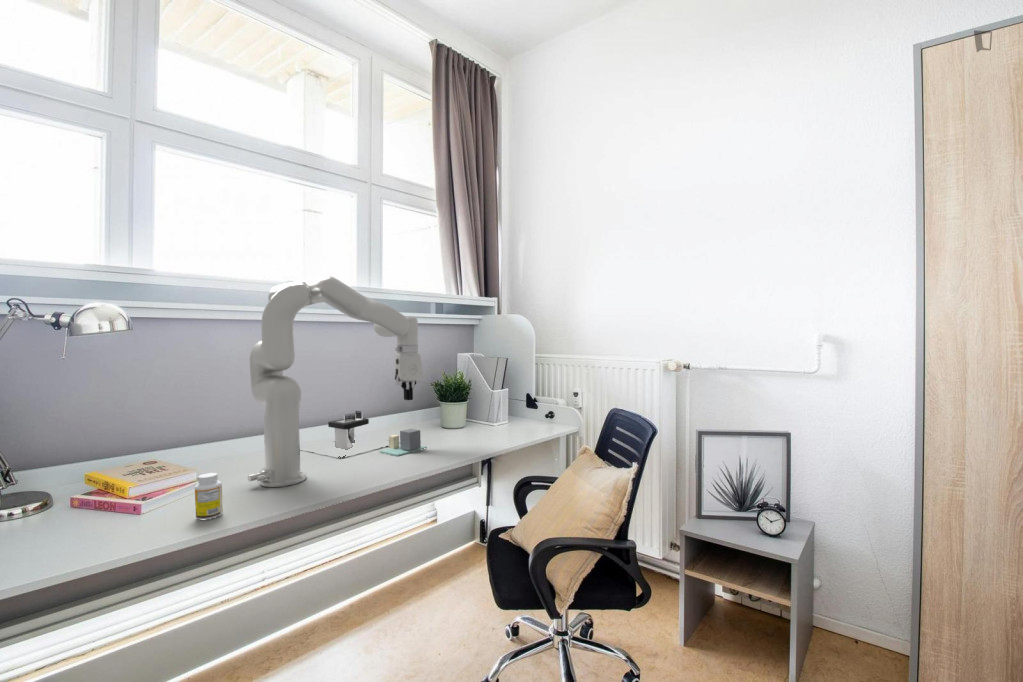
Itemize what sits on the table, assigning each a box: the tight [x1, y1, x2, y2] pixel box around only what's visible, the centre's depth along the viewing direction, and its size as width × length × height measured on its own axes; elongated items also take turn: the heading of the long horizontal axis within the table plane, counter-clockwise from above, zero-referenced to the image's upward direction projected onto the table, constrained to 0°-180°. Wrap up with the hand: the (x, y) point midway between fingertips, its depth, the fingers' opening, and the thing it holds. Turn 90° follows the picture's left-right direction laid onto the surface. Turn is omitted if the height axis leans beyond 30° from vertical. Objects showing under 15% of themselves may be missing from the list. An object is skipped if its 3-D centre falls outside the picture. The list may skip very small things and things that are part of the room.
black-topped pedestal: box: [327, 409, 370, 460], centre depth 188 cm, size 28×26×13 cm
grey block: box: [399, 428, 422, 451], centre depth 179 cm, size 5×5×7 cm
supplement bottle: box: [194, 472, 224, 520], centre depth 117 cm, size 6×6×10 cm
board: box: [379, 434, 428, 457], centre depth 180 cm, size 14×10×5 cm
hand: (408, 399), depth 179 cm, fingers closed
